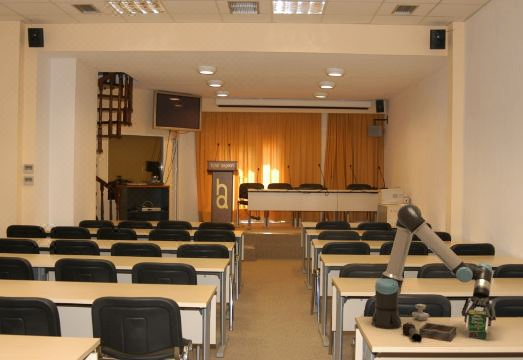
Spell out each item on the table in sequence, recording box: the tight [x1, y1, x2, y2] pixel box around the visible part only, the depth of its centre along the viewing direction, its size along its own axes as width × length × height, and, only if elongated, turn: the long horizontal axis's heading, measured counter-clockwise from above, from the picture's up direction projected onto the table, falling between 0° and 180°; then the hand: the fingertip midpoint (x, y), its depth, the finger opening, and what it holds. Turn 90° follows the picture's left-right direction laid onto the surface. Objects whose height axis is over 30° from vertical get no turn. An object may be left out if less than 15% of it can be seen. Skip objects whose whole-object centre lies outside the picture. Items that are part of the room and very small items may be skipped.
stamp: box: [411, 303, 430, 321], centre depth 274 cm, size 9×7×8 cm
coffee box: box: [468, 309, 488, 340], centre depth 241 cm, size 8×3×13 cm, turn 60°
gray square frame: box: [418, 322, 457, 343], centre depth 244 cm, size 14×14×4 cm
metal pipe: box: [402, 322, 423, 343], centre depth 241 cm, size 18×7×6 cm, turn 175°
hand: (476, 329), depth 238 cm, fingers closed on coffee box, 8 cm apart
